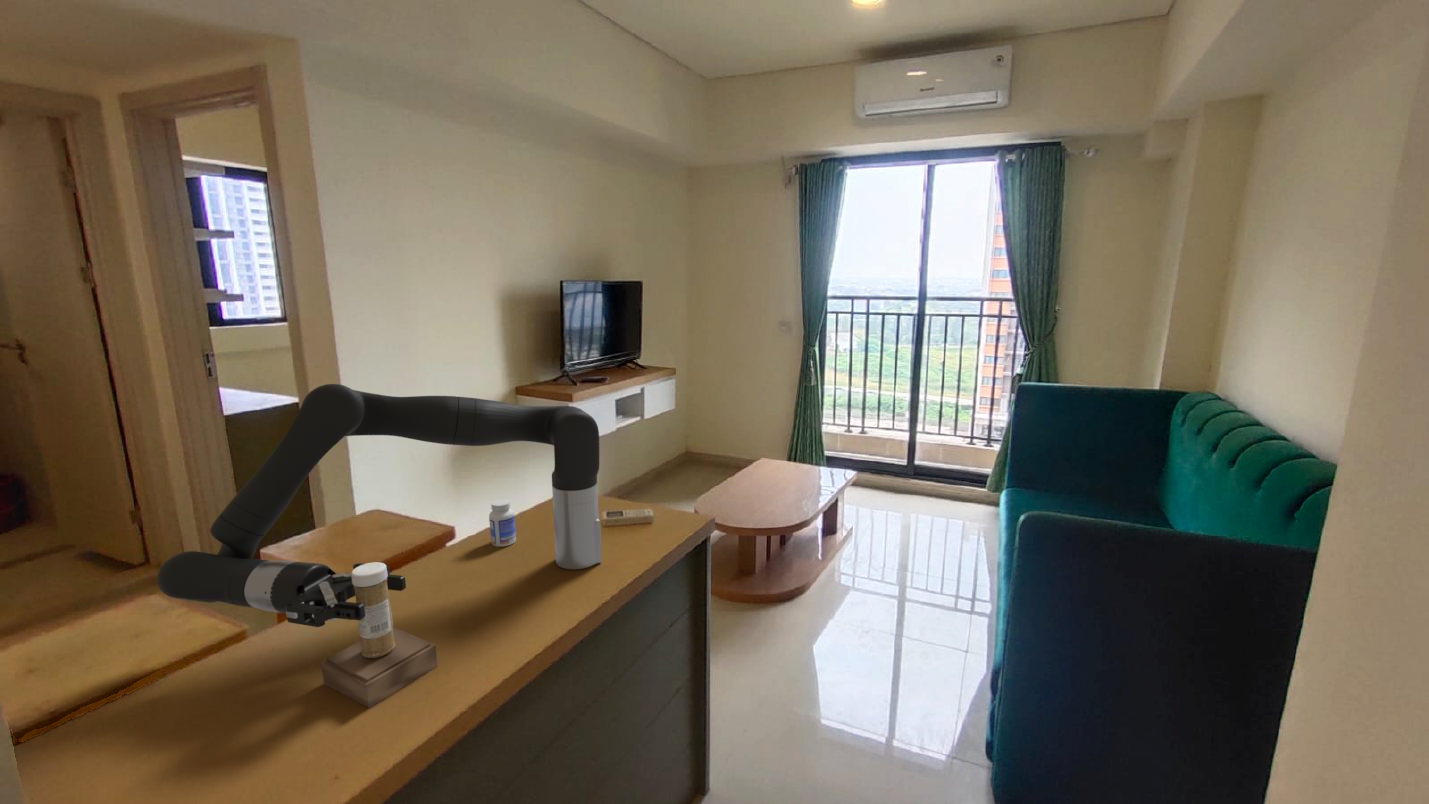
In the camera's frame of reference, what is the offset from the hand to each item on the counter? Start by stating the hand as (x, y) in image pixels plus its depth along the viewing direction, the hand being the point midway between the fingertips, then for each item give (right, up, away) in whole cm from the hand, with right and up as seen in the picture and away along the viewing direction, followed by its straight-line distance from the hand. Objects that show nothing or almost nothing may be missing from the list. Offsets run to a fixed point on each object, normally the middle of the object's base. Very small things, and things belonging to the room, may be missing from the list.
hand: (384, 597), depth 90 cm
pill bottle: (0, -4, +50) cm, 51 cm away
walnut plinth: (-2, -13, +3) cm, 13 cm away
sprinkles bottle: (-2, -9, +2) cm, 9 cm away
